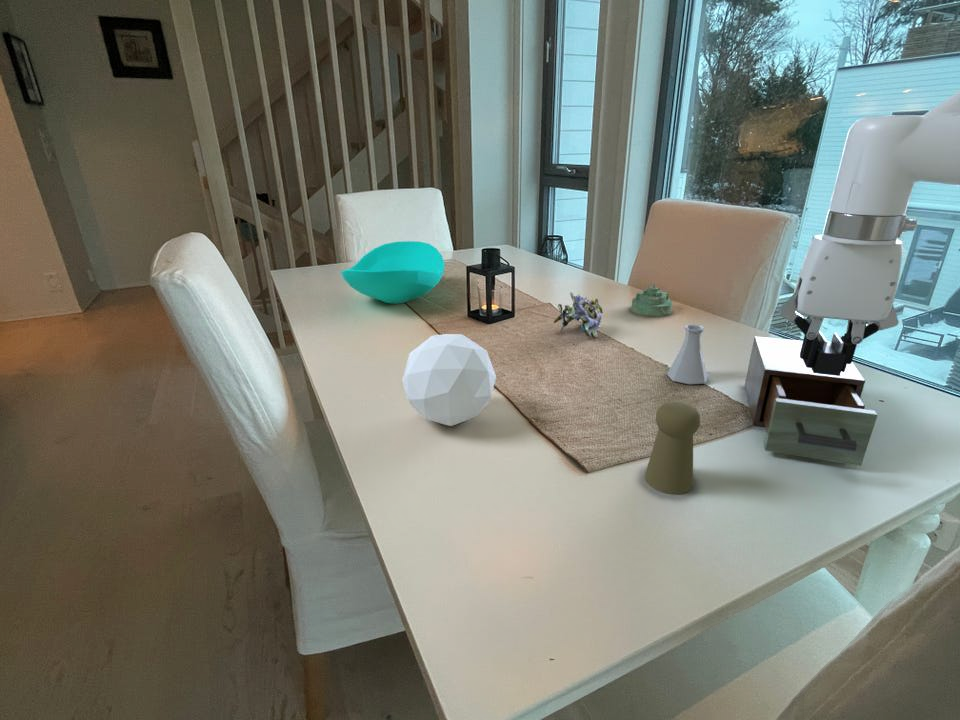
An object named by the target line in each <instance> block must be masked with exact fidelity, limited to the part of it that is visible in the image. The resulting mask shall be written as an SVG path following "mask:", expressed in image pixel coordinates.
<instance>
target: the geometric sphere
mask: <svg viewBox="0 0 960 720" xmlns="http://www.w3.org/2000/svg"><path fill="white" fill-rule="evenodd" d="M404 368H405V369H404V373H403V375H402V380H401V383H402V386H403V389H404V393H405V395H406V398H407V401H408V402H409V404H410V405H411V407H412V408H414V410H415V411H416V412H417V413H418V414H420V415H421V416H422V417H423V419H425V420H428V421H431V422H435V423H437V424H442V425H444V426H449V427H453V426H455V425H458V424H462V423H464V422H467V421H469V420H472V419H473V418H476V416H478V415H479V414H480V413H481V412H482V411H483V410H484V409H485V408H486V407H487V406H488V405H489V403H490V400H491V397H492V394H493V391H494V387H495V384H496V380H497V375H496V373H495V372H496V371H495V369H494V366H493V364H492V362H491V358H490V356H489V353H488V351H487V349H485V348H484V347H482V346H481V345H479V344H478V343H476V342H474V340H471V339H470V338H469V337H467V336H465V335H464V334H463V333H461V334H460V333H445V334H433V335H431V336H429V338H427V339H426V340H424V341H423V342H422V343H421V344H420V345H419V346H417V347H415V348H414V349H413V350H412V351H411V352H410V353H408V358H407V360H406V365H405V367H404Z"/></svg>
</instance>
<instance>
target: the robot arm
mask: <svg viewBox="0 0 960 720" xmlns="http://www.w3.org/2000/svg"><path fill="white" fill-rule="evenodd" d="M918 182H921V183H932V184H933V183H934V184H941V185H947V186H954V187H960V90H959V91H957V92H956V93H954V94H952V95H951V96H949V97H948V98H947V99H945V100H943V101H942V102H941V103H939V104H938V105H936V106H934V107H933V108H931V109H930V110H928V111H927V112H925V113H923V114H922V115H918V114H917V115H916V114H894V115H892V114H891V115H890V114H889V115H872V116H871V115H870V116H865V117H862V118H859V119H856V120H855V121H854V123H852V125H851V126H850V127H849V129H848V132H847V135H846V138H845V143H844V147H843V151H842V155H841V159H840V163H839V167H838V171H837V175H836V179H835V183H834V186H833V192H832V195H831V199H830V203H829V207H828V211H827V215H826V219H825V223H824V227H823V231H822V234H817V235H814V236H813V238H812V240H811V242H810V244H809V247H808V249H807V251H806V253H805V257H804V259H803V262H802V264H801V268H800V270H799V273H798V277H797V280H796V284H795V286H794V290H793V294H792V295H791V296H790V298H789V299H787V301H786V302H785V303H783V305H782V306H781V307H780V309H779V310H778V311H779V314H780V316H781V317H782V318H784V319H786V320H787V321H788V322H790V323H792V324H794V325H796V327H797V328H798V329H799V331H800V332H801V333H802V334H803V335H804V336H803V340H802V341H803V343H802V347H801V351H800V358H801V359H803V361H804V363H805V365H806V367H807V368H812V367H813V365H814V361H815V357H816V354H817V350H818V348H819V344H820V341H819V339H818V332H819V331H820V329H821V326H822V324H823V321H824V319H830V320H831V319H832V320H842V321H843V320H844V321H847V325H846V330H845V333H844V334H843V335H841V337H840V336H839V337H840V339H841V340H842V342H843V343H844V344H843V348H842V351H843V352H844V353H845V355H846V356H845V360H844V363H843V366H842V370H841V372H844V371H845V369H846V366H847V364H851V362H852V363H853V359H854V355H855V352H856V350H857V346H858V345H860V344H861V343H862V342H863V340H865V339H867V338H869V337H870V336H872V335H874V334H876V333H877V332H879V331H884V330H888V329H891V328H894V327H897V326H898V325H899V323H900V321H899V319H898V315H897V313H896V310H895V307H894V302H895V298H896V293H897V289H898V285H899V280H900V275H901V274H900V273H901V267H902V258H903V257H902V256H903V241H901V240H899V239H900V238H901V235H902V234H903V233H906V232H914V231H915V230H916V228H917V224H918V221H917V219H910V218H907V214H906V212H907V209H908V205H909V203H910V199H911V196H912V193H913V189H914V186H915V184H916V183H918ZM804 316H806V318H805V317H804Z"/></svg>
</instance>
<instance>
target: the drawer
mask: <svg viewBox="0 0 960 720" xmlns="http://www.w3.org/2000/svg"><path fill="white" fill-rule="evenodd" d="M762 415H763V419H764V423H765V427H764V428H765V430H766V436H765V441H764V444H763V448H764V451H765V452H772V453H777V454H784V455H790V456H797V457H804V458H808V459H814V460H821V461H827V462H832V463H833V462H834V463H840V464H847V465H852V466H853V465H854V466H860V467H862V464H863V461H864V459H865V455H866V452H867V449H868V446H869V444H870V440H871V437H872V435H873V431H874V429H875V425H876V422H877V419H878V413H877V411H876V410H873V409H867V408H866V406H865V404H864V402H863V401H862V399H861V397H860V398H859V396H858V395H857V393H856V392H855V390H854V388H853V387H852V385H851V384H845V383H836V382H828V381H819V380H811V379H802V378H793V377H785V376H776V375H770V376H769V380H768V385H767V389H766V394H765V398H764V403H763V407H762Z"/></svg>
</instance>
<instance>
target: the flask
mask: <svg viewBox="0 0 960 720" xmlns="http://www.w3.org/2000/svg"><path fill="white" fill-rule="evenodd" d="M704 329H705V327H703V326H702V325H700V324H693V323H692V324H686V325H685V326H684V330H685V336H684V340H683V343H682V345H681V347H680V349H679V351H678V353H677V355H676V357H675V359H674V361H673V363H672V364H671V366H670V368H669V370H668V371H667V373H666V376H668V378H670V379H671V381H672V382H677V383H681V384H686V385H703V384H706V382H707V381H708V372H707V368H706V364H705V359H704V355H703V350H702V333H703V332H704Z"/></svg>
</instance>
